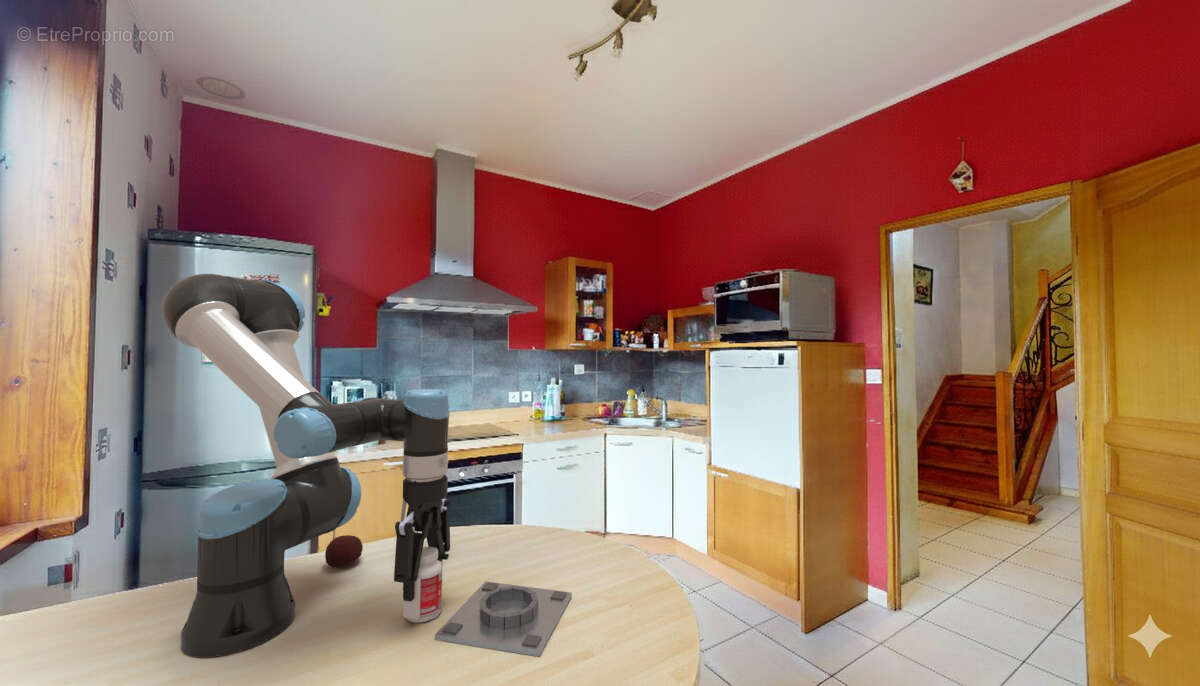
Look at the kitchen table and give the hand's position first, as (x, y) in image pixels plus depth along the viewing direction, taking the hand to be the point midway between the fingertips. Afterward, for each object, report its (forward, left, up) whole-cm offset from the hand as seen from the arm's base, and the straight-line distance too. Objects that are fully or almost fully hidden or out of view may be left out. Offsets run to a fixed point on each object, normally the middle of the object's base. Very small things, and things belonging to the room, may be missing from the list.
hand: (423, 605), depth 83 cm
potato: (-28, +13, -2) cm, 31 cm away
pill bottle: (0, 0, -2) cm, 2 cm away
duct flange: (+15, +3, -2) cm, 15 cm away
